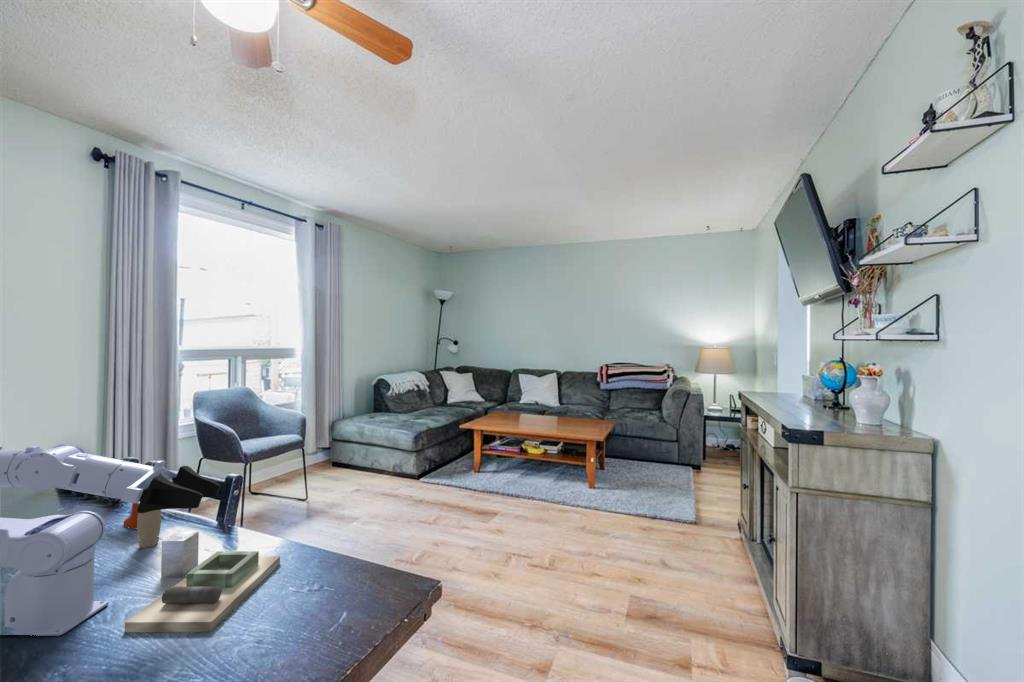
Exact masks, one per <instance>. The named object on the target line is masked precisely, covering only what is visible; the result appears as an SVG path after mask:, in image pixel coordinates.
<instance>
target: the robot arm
mask: <svg viewBox="0 0 1024 682" xmlns="http://www.w3.org/2000/svg"><path fill="white" fill-rule="evenodd" d="M165 464H166V461H165V460H163V459H160V460H157V461H156V462H155V463H154V466H153V465H148V464H144V463H139V462H138V463H137V462H133V461H128V460H123V459H117V458H114V457H113V458H112V457H107V456H102V455H97V454H93V453H92V454H91V453H86V451H85V450H84V449H83V448H81V447H80V446H77V445H74V444H66V443H61V444H58V445H55V446H53V447H51V448H48V449H43V448H41V446H40V445H31V446H27V447H26V448H21V449H19V448H18V449H16V448H15V449H3V446H2V445H0V489H1V488H2V489H3V488H25V487H26V488H29V490H28V491H29V492H33V493H37V492H44V491H47V490H49V489H52V488H53V489H54V488H55V489H61V490H66V491H68V490H69V491H73V492H79V493H83V494H89V495H95V496H100V497H104V498H105V497H106V498H110V499H117V500H120V502H125V503H130V504H132V503H138V504H139V506H138V509H137V512H138V513H146V512H150V511H155V510H161V511H162V510H173V509H176V510H177V509H178V510H179V509H181V510H182V509H189V510H190V509H197V508H199V506H200V504H201V502H202V499H203V498H216V497H217V496H218V493H219V491H220V490H221V489H220V488H221V486H222V485H221V484H219V483H218V482H216V481H213V480H212V479H209V478H207V477H205V476H202V475H200V474H199V473H198V472H196V471H195V470H194V469H192V467H190V466H188V465H181V466H180V467H179V468H178V471H173V470H172V471H171V470H169V469H168V468H167V467H165ZM106 527H107V526H106V522H105V520H104V518H103V517H102V516H101V515H100V514H98V513H97V512H94V511H90V510H81V511H76V512H74V513H70V514H53V515H47V516H41V517H36V518H29V519H28V518H15V517H0V566H1V567H2V568H8V569H9V568H11V569H16V570H18V571H17V572H16V573H14V574H13V576H12V577H11V578H10V580H9V581H8V583H7V586H6V588H5V592H4V593H5V595H4V596H5V597H4V627H5V626H6V627H11V628H13V629H15V630H14V631H15V632H14V634H19V635H30V636H31V637H34V636H35V635H36V636H37V637H42V636H43V637H47V636H48V637H53V636H56V637H58V636H61V635H64V634H66V633H67V632H69V631H70V630H71V629H73V628H75V627H77V626H78V625H79V624H81V623H82V622H84V621H85V620H87V619H89V618H90V617H91V616H93V615H94V614H96V613H97V612H99V611H100V610H103V608H105V607H106V606H108V605H109V604H110V601H109V600H94V599H95V597H94V596H95V595H94V592H95V590H94V589H95V551H96V544H97V543H99V542H100V541H101V540H102V538H103V537H104V535H105V532H106ZM32 635H34V636H32ZM30 636H29V637H30ZM36 636H35V637H36Z"/></svg>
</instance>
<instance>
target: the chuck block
mask: <svg viewBox="0 0 1024 682" xmlns="http://www.w3.org/2000/svg"><path fill="white" fill-rule="evenodd" d="M280 564H281V556H280V555H279V556H278V555H277V556H274V555H271V556H269V555H267V556H262V555H261V556H260V555H259V551H258V550H257V551H256V550H255V551H253V550H250V551H243V550H242V551H233V550H231V551H230V550H229V551H222V550H220V551H218V550H217V551H216V552H214V553H213V554H211V555H210V556H209V557H208V558H206V559H205V560H203V561H202V562H201V563H200V564H199V563H198V566H197V567H195V568H194V569H192V570H191V571H190V572H188V573H187V575H186V576H185V577H184V578H182V580H180V581H179V582H177V583H176V584H175V585H174V586H168V587H166V589H165V590H164V591H163V593H162V594H161V595H160V596H159V597H157V598H155V600H152V601H151V603H149V604H147V606H145V607H144V608H142V609H141V610H140V611H139V612H137V613H136V614H134V615H133V616H131V617H130V618H129V619H127V620H126V621H125V622H124V633H201V632H202V633H204V632H205V633H208V632H210V633H211V632H212V631H213V630H214V629H216V628H217V626H219V625H220V623H222V621H223V620H224V619H225V618H227V617H228V616H229V615H230V614H231V613H232V612H233V611H234V610H235V609H236V608H237V607H238V606H239V605H240V604H241V603H242V602H243V601H244V600H245V599H246V598H247V597H248V596H249V595H250V594H251V593H252V592H253V591H254V590H255V589H256V588H257V587H258V586H259V585H260V584H261V583H262V582H263V581H264V580H265V579H267V577H269V576H270V575H271V574H272V573H273V572H274V571H275V569H276V568H278V566H280Z"/></svg>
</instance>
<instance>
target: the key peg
mask: <svg viewBox="0 0 1024 682" xmlns="http://www.w3.org/2000/svg"><path fill="white" fill-rule="evenodd" d="M199 534H200V533H199V531H177V532H175V533H173V534H172V535H170V536H169V537H166V538H165V539H162V540H161V553H160V554H161V557H160V558H161V559H160V560H161V561H160V562H161V563H160V564H161V565H160V568H161V569H160V572H161V573H160V578H161V579H185V578H186V577H187V573H188V572H190V571H191V570H192V569H194V568H195V567H197V566H198V565H199V541H200V540H199V536H200V535H199Z"/></svg>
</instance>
